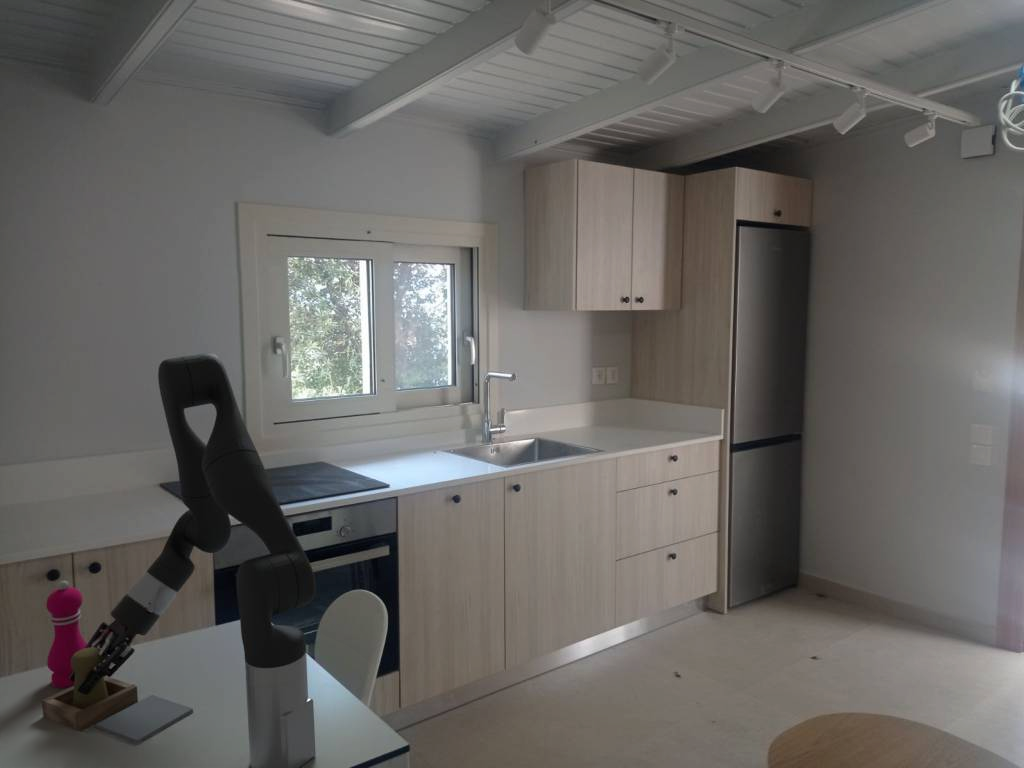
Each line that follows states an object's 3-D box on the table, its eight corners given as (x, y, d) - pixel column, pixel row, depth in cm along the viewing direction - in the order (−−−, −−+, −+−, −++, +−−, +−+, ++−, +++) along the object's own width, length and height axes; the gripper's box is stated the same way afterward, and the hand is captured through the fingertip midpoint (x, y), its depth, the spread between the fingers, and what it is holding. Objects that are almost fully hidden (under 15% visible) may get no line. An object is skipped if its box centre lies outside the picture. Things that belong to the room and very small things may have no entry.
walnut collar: (137, 701, 138) (136, 686, 137) (81, 731, 128) (79, 714, 128) (100, 688, 143) (99, 673, 142) (43, 716, 133) (41, 700, 133)
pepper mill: (54, 674, 149) (47, 576, 147) (95, 668, 151) (88, 572, 149) (44, 692, 142) (35, 589, 140) (87, 685, 144) (79, 585, 142)
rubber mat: (193, 711, 134) (192, 708, 134) (137, 743, 124) (137, 740, 124) (152, 697, 139) (151, 694, 139) (95, 727, 129) (95, 724, 129)
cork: (93, 719, 132) (88, 659, 131) (63, 716, 133) (59, 656, 132) (117, 701, 138) (113, 644, 137) (89, 699, 139) (84, 642, 138)
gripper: (117, 583, 144) (50, 664, 137) (140, 603, 133) (69, 692, 126) (148, 602, 148) (84, 681, 141) (173, 623, 137) (105, 711, 130)
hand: (77, 686), depth 134 cm, fingers closed on cork, 5 cm apart
